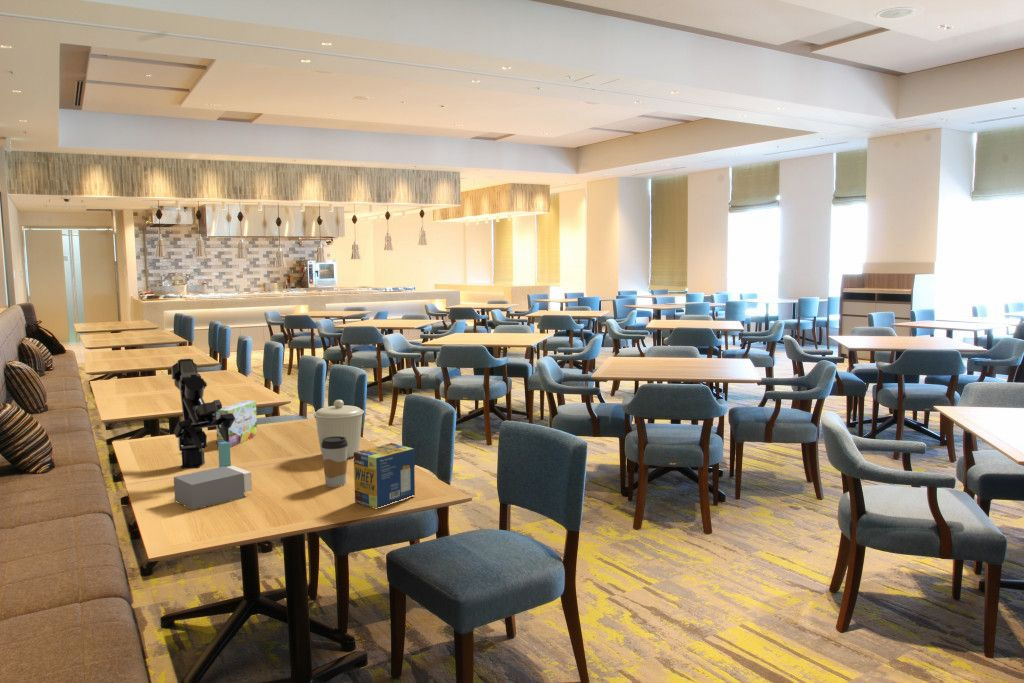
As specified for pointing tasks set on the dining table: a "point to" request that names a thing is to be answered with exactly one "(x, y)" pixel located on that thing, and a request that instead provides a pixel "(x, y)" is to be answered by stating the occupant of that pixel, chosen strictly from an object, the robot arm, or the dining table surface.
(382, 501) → the protein box
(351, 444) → the canister
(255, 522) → the dining table surface
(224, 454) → the teal white angled piece
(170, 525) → the dining table surface
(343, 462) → the coffee cup
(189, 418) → the robot arm
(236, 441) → the snack box
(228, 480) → the carton sleeve
